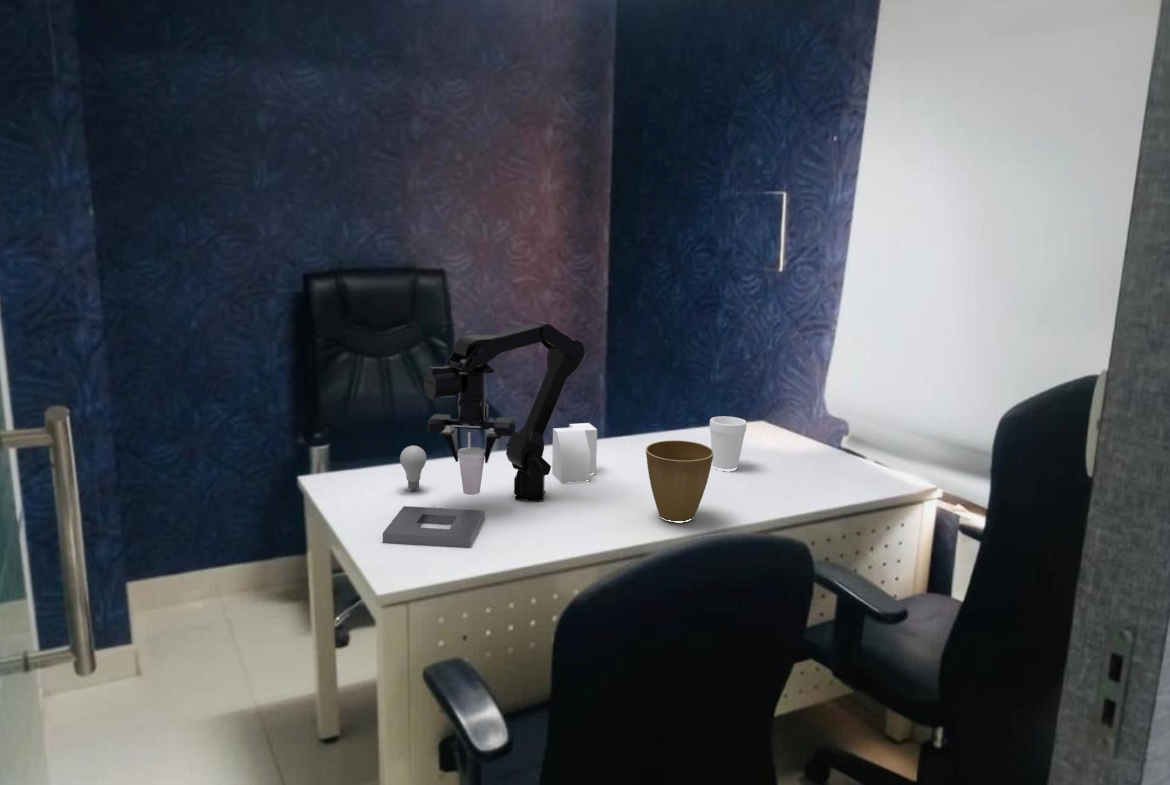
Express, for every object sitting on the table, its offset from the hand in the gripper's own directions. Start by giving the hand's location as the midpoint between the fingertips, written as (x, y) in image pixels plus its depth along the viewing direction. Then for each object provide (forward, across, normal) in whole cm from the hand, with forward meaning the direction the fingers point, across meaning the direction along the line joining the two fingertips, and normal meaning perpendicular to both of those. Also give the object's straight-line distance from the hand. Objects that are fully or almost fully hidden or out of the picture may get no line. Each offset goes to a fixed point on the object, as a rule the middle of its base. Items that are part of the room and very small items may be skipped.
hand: (471, 462), depth 200 cm
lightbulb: (+11, +16, -10) cm, 22 cm away
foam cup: (+11, -60, -40) cm, 73 cm away
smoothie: (+7, 0, 0) cm, 7 cm away
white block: (+11, -21, -28) cm, 37 cm away
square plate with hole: (+11, +5, +14) cm, 18 cm away
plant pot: (+11, -46, -1) cm, 47 cm away
